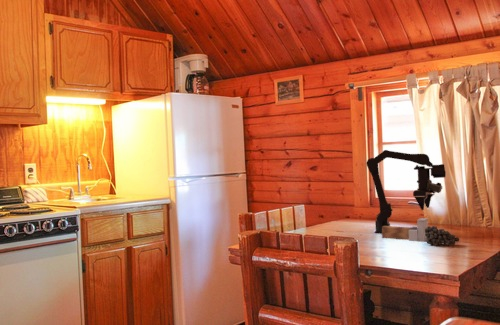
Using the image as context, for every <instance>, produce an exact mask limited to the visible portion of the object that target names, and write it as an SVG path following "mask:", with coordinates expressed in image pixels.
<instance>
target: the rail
mask: <svg viewBox="0 0 500 325" xmlns="http://www.w3.org/2000/svg"><path fill="white" fill-rule="evenodd" d="M409 230H417V226H410V227H409V226H397V225H396V226H393V225H392V226H391V225H390V226H383V227H382V233H381V238H382V239H391V240H394V239H395V240H404V241H405V240H408V241H409Z"/></svg>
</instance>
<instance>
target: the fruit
mask: <svg viewBox="0 0 500 325" xmlns="http://www.w3.org/2000/svg"><path fill="white" fill-rule="evenodd" d="M425 236H426V237H427V238H426V241H425V242H426V244H427V245H430V246H432V245H433V246H435V247H437V246H441V245H448V246H449V247H450V246H452V245H453V246H454V245H455V244H456V242H460V238H459V237H458V236H457V237H456V234H451V232H450V231H449V230H445V229H444V228H440V229H439V228H438V227H437V226H435V225H432V226H431V225H428V227H427V228H426V229H425Z"/></svg>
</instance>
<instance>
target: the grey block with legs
mask: <svg viewBox="0 0 500 325" xmlns="http://www.w3.org/2000/svg"><path fill="white" fill-rule="evenodd" d="M428 220H429V218H427V217H426V218H425V217H424V218H423V217H421V218H418V219H417V220H416V222H417V223H416V225H417V226H416V227H417V230H409V240H408V241H411V242H426V238H427V237H426V236H425V229H426V228H427V227H428V226H429V225H428V224H429V222H428Z"/></svg>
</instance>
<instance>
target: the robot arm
mask: <svg viewBox="0 0 500 325" xmlns="http://www.w3.org/2000/svg"><path fill="white" fill-rule="evenodd" d="M387 158H388V159H396V160H401V161H408V162H412V163H415V165H416V166H414V168H413V170H417V180H416V183H417V185H418V186H417V187H418V188H417V189H416V190H414V191H412V195H413V198H414V199H415V200H416V202H417V204H418V206H419V208H420V210H421V211H423V210H424V209H425V207H426V209H428V208H430V204H431V201H432V198H433V196H434V195H435V194H436V193H437V194H440V193H441V192H442V190H443V186H442V183H441V182H436V183H433V181H432V179H431V177H433V179H440V178H446V175H447V174H446V167H445V163H441V164H433V163H432V161H431V160H430V157H429V155H428V154H426V153H407V152H399V151H394V150H393V151H392V150H388V149H384V150H382V152H381V153H379V154H377V156H374V157H371V158H368V159H367V160H366V167H367V169H368V171H369V172H370V175H371V177H372V180H373V184H374V188H375V190H376V191H375V192H376V195H377V199H378V204H379V213H377V215H376V216H375V218H376V220H375V221H374V222H375V231H374V233H375V234H382V227H383V226H391V223H390V220H388V219H389V218H391V217H392V212H393V208H392V204H391V202H390V201H389V202H388V201H387V197H386V194H385V190H384V188H383V184H382V180H381V177H380V172H379V164H380V163H381V162H383V161H384V160H385V159H387ZM419 165H421V166H419ZM425 166H427V167H425Z"/></svg>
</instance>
